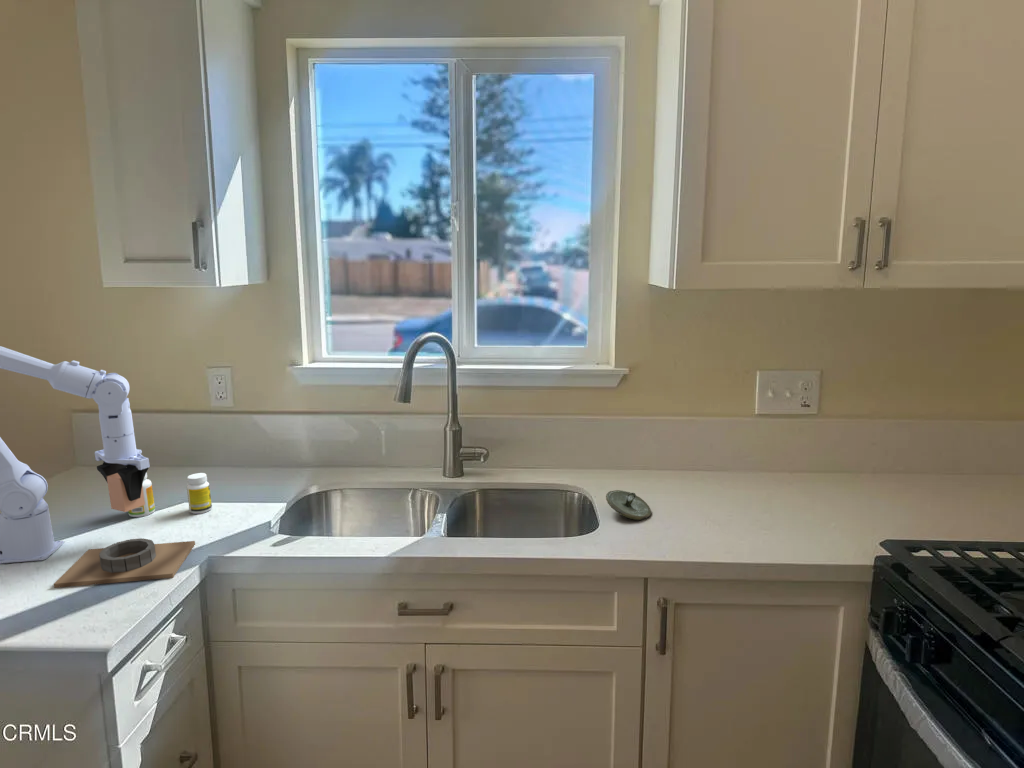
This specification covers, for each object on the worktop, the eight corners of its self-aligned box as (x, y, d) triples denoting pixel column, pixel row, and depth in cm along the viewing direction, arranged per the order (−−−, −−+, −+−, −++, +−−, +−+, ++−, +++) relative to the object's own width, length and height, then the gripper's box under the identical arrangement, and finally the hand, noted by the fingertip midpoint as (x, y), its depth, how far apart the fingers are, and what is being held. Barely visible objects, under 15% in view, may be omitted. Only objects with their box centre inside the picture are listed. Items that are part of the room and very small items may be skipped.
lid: (616, 501, 157) (616, 481, 156) (657, 509, 152) (658, 488, 151) (598, 517, 148) (598, 495, 147) (641, 526, 143) (642, 504, 142)
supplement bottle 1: (149, 506, 157) (143, 467, 155) (159, 512, 154) (154, 471, 152) (124, 513, 153) (118, 473, 151) (134, 519, 150) (128, 478, 148)
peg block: (111, 508, 138) (106, 476, 137) (131, 501, 142) (127, 469, 141) (125, 512, 136) (120, 479, 135) (145, 504, 140) (140, 472, 139)
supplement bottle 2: (215, 509, 155) (211, 475, 153) (194, 516, 152) (190, 480, 150) (206, 504, 158) (202, 470, 156) (186, 510, 155) (181, 476, 153)
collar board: (54, 587, 120) (51, 571, 120) (89, 553, 134) (86, 537, 133) (173, 577, 124) (170, 561, 123) (195, 544, 137) (193, 529, 136)
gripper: (159, 433, 136) (167, 496, 139) (114, 425, 143) (123, 485, 146) (126, 442, 130) (135, 508, 133) (81, 433, 137) (90, 496, 139)
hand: (127, 497), depth 139 cm, fingers closed on peg block, 4 cm apart
